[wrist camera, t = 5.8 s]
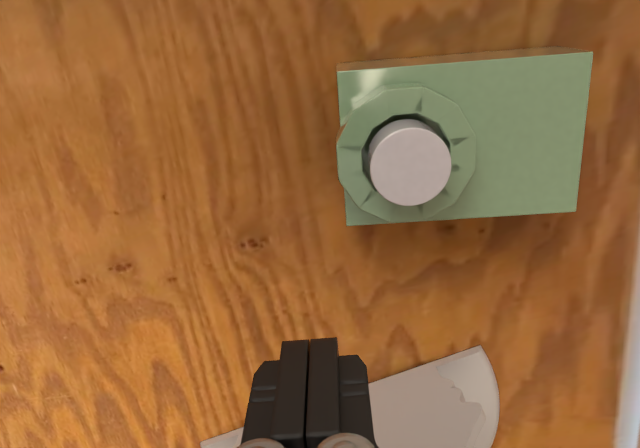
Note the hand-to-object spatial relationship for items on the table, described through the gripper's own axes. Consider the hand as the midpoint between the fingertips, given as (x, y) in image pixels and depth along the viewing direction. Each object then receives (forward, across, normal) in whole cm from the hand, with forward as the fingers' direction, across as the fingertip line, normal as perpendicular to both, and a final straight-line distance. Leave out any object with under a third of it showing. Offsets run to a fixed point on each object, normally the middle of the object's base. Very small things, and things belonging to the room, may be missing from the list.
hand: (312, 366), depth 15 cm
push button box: (+18, -7, -2) cm, 20 cm away
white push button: (+13, -4, -2) cm, 14 cm away
